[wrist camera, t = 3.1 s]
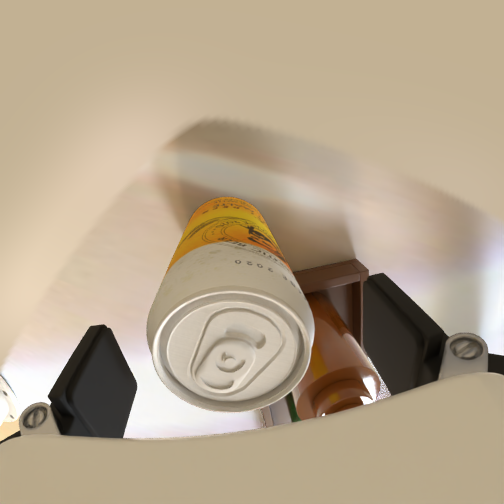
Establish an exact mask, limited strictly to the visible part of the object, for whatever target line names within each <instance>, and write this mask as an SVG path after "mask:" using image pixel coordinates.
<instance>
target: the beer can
mask: <svg viewBox="0 0 504 504" xmlns="http://www.w3.org/2000/svg"><path fill="white" fill-rule="evenodd" d="M314 331H315V327H314V319H313V315H312V311H311V309H310V306H309V304H308V302H307V300H306V298H305V296H304V294H303V292H302V290H301V288H300V287H299V285H298V283H297V281H296V279H295V277H294V275H293V273H292V271H291V269H290V267H289V265H288V264H287V262H286V260H285V258H284V256H283V254H282V252H281V250H280V248H279V247H278V245H277V243H276V241H275V239H274V237H273V235H272V233H271V232H270V230H269V228H268V226H267V224H266V222H265V220H264V219H263V217H262V215H261V214H260V213H259V211H258V210H257V209H256V208H255V207H254V206H252V205H251V204H250V203H248V202H246V201H244V200H242V199H239V198H234V197H220V198H216V199H212V200H210V201H208V202H206V203H204V204H203V205H202V206H200V207H199V208H198V209H197V210H196V211H195V212H194V214H193V215H192V217H191V219H190V221H189V223H188V225H187V227H186V229H185V231H184V233H183V236H182V238H181V240H180V242H179V244H178V247H177V249H176V251H175V253H174V255H173V258H172V260H171V262H170V264H169V267H168V269H167V271H166V274H165V276H164V278H163V281H162V283H161V285H160V288H159V290H158V292H157V295H156V297H155V300H154V302H153V304H152V307H151V309H150V312H149V316H148V320H147V341H148V345H149V349H150V351H151V354H152V359H153V364H154V367H155V370H156V372H157V374H158V376H159V377H160V379H161V381H162V382H163V383H164V384H165V386H166V387H167V388H168V389H169V390H170V391H171V392H172V393H174V394H175V395H176V396H177V397H179V398H180V399H182V400H184V401H185V402H187V403H189V404H191V405H194V406H196V407H199V408H202V409H206V410H210V411H215V412H223V413H238V412H246V411H252V410H256V409H259V408H263V407H265V406H268V405H270V404H272V403H274V402H276V401H278V400H280V399H281V398H283V397H284V396H286V395H287V394H288V393H290V392H291V391H292V390H293V389H294V388H295V387H296V386H297V385H298V383H299V382H300V381H301V379H302V378H303V376H304V375H305V373H306V371H307V369H308V366H309V363H310V358H311V348H312V345H313V340H314Z"/></svg>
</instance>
